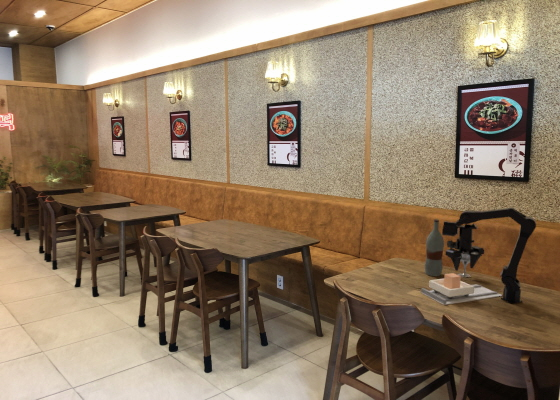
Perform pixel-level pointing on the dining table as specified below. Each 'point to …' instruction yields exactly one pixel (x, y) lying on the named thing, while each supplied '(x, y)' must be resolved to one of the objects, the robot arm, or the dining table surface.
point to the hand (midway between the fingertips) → (463, 269)
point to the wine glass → (465, 263)
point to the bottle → (434, 251)
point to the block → (452, 281)
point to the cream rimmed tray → (463, 290)
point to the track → (477, 295)
